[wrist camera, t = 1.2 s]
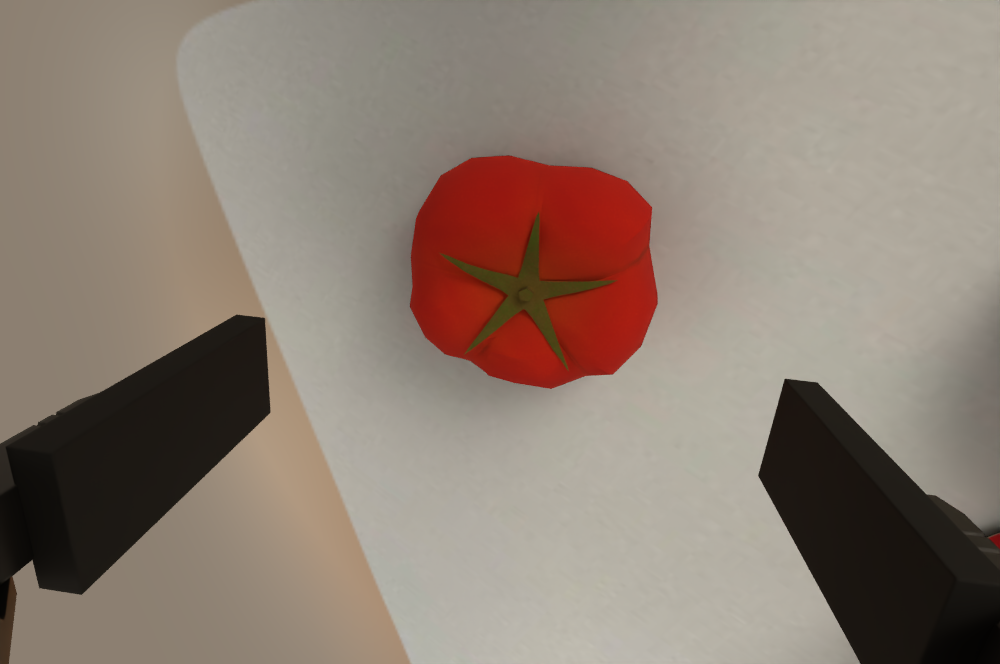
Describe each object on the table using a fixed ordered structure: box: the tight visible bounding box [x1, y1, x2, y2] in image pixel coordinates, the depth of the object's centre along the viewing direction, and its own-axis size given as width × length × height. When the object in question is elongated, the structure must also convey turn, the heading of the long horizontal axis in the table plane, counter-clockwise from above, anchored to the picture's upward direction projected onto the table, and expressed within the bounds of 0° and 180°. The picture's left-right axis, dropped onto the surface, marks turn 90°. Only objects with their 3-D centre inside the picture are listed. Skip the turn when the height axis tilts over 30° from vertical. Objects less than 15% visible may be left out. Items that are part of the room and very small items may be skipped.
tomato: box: [410, 156, 658, 389], centre depth 25 cm, size 10×11×6 cm
